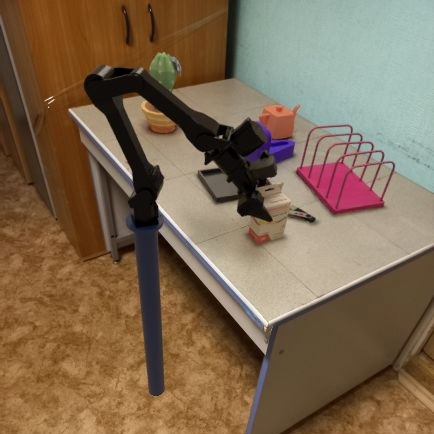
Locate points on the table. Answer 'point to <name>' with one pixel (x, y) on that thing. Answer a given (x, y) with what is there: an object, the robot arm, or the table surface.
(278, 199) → the ink cartridge box
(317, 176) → the file sorter
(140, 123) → the table surface
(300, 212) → the usb flash drive
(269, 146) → the bracket
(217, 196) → the baking tray
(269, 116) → the teapot
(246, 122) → the robot arm
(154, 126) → the potted cactus
